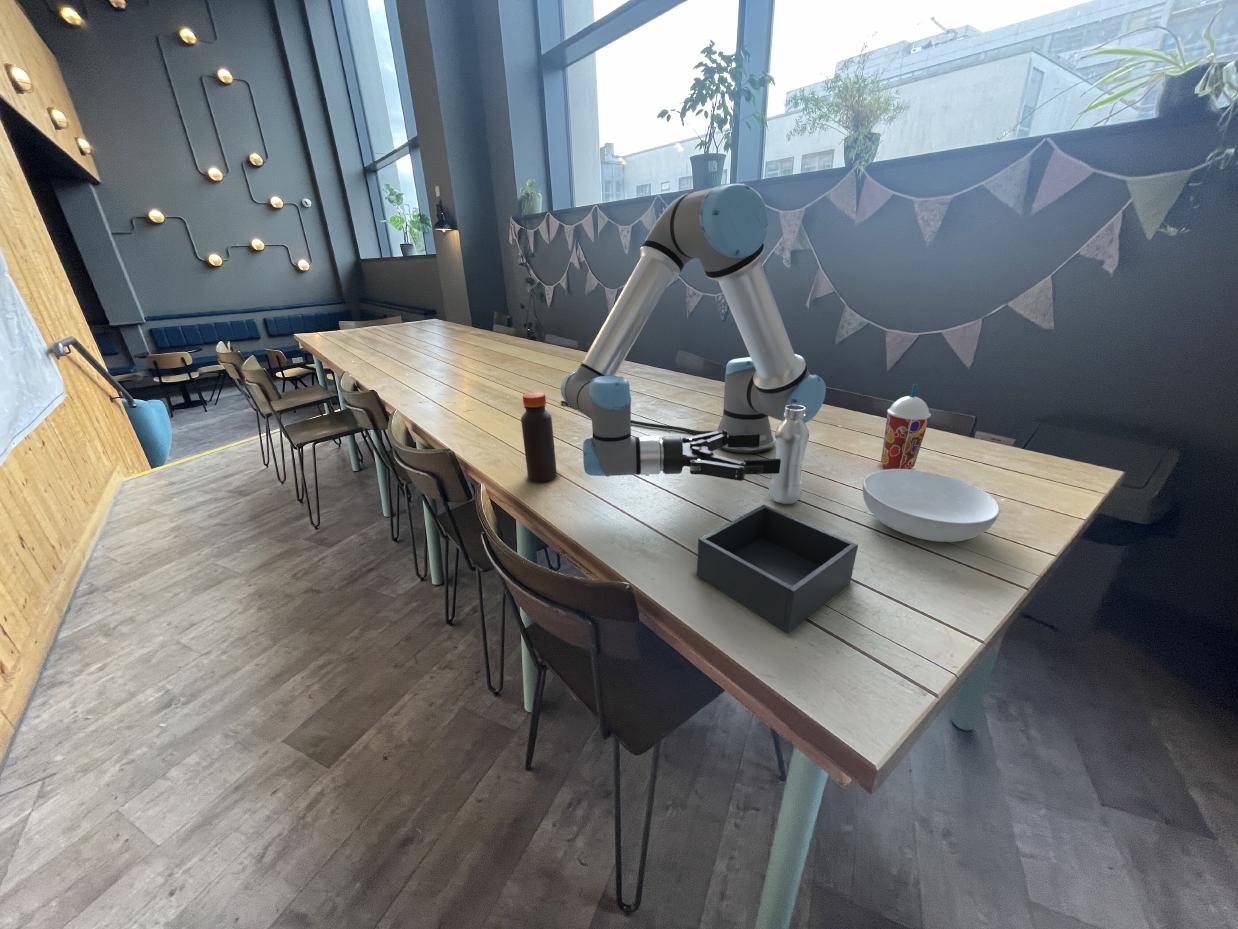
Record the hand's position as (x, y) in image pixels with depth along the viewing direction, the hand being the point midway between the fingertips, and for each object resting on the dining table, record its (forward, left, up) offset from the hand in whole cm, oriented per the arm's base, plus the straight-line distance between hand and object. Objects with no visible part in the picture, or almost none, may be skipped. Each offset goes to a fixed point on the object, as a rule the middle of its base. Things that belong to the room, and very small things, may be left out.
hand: (768, 452), depth 93 cm
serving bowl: (+25, +13, -11) cm, 30 cm away
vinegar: (-41, -29, -11) cm, 52 cm away
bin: (+17, -21, -11) cm, 29 cm away
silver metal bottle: (+3, +3, -11) cm, 12 cm away
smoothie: (+11, +36, -11) cm, 39 cm away
